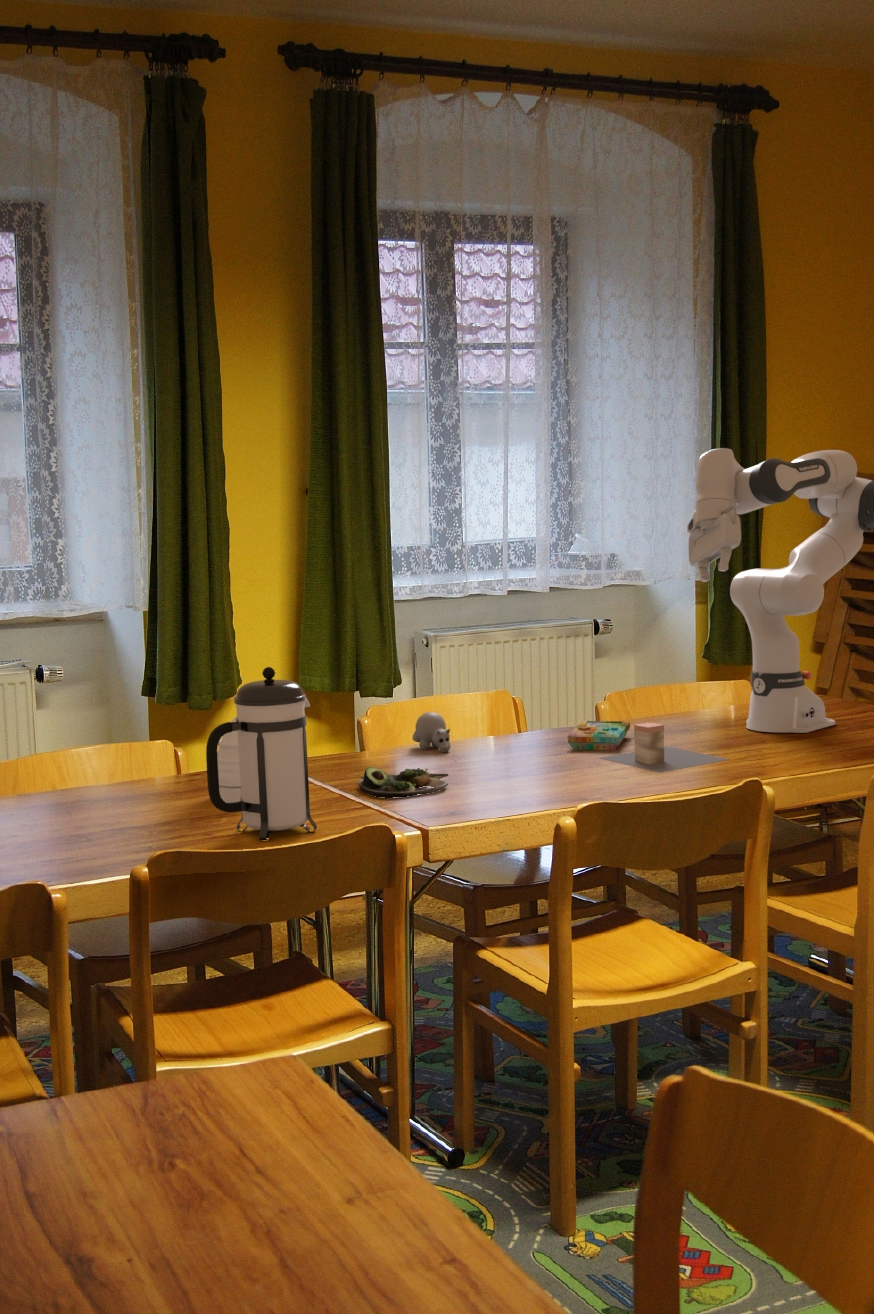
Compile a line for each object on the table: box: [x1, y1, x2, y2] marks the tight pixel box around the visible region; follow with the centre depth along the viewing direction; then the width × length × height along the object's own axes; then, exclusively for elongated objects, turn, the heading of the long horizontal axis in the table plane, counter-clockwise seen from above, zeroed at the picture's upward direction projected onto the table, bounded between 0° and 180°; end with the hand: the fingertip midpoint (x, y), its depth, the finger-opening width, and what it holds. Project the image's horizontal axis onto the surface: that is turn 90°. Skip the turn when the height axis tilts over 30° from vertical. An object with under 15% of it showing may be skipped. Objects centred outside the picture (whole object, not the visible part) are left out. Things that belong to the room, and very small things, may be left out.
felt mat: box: [599, 745, 730, 773], centre depth 284 cm, size 20×20×1 cm
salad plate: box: [357, 766, 449, 799], centre depth 266 cm, size 19×18×5 cm
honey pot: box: [217, 715, 241, 803], centre depth 261 cm, size 13×13×18 cm
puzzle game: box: [567, 720, 631, 752], centre depth 305 cm, size 12×5×20 cm
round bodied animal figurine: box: [412, 711, 451, 753], centre depth 304 cm, size 7×12×8 cm, turn 29°
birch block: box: [633, 722, 665, 764], centre depth 281 cm, size 4×4×8 cm
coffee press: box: [205, 666, 318, 841], centre depth 231 cm, size 17×16×30 cm
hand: (714, 575), depth 289 cm, fingers open, 8 cm apart
